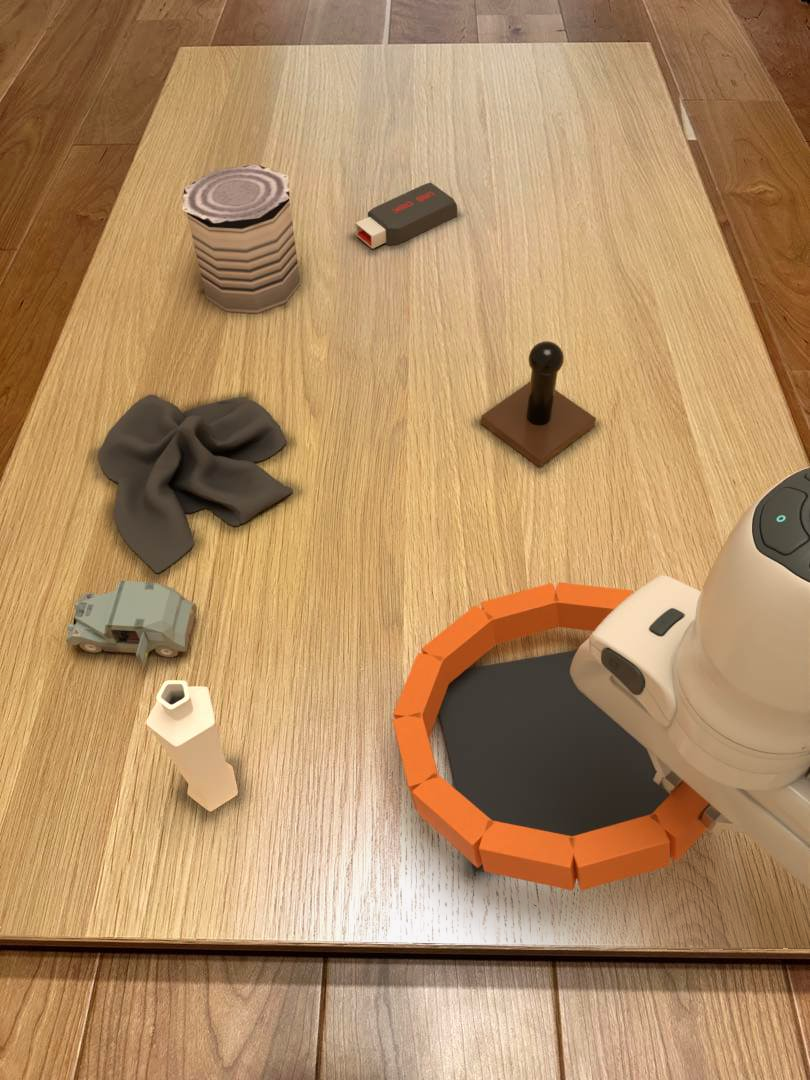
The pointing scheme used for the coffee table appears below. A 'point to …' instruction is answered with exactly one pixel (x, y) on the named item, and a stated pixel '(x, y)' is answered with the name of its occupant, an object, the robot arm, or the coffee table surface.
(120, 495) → the cloth
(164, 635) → the toy car
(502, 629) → the hoop
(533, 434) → the post
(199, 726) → the cream vase
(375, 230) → the usb drive
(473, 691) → the mat
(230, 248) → the can
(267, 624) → the coffee table surface
